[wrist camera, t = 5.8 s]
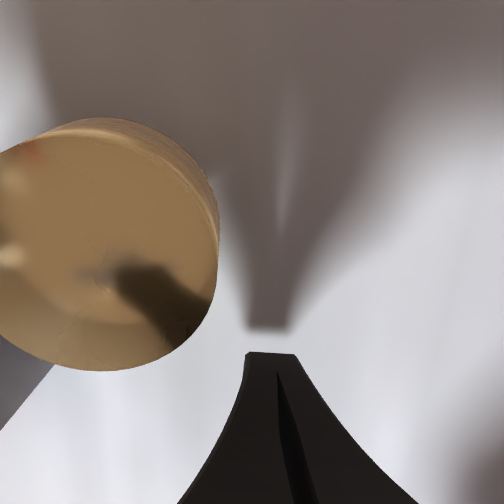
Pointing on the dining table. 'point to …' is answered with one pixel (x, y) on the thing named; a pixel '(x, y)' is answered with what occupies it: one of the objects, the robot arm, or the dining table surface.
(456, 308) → the dining table surface
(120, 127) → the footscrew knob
